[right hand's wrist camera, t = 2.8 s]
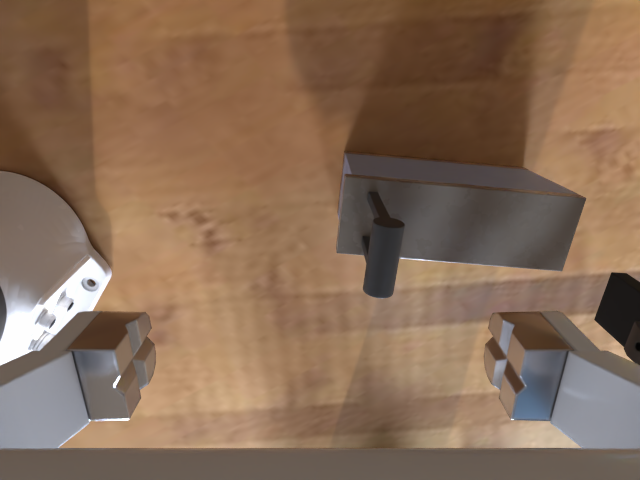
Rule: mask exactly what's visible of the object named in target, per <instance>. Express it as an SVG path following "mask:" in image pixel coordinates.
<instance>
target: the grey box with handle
mask: <svg viewBox="0 0 640 480" xmlns="http://www.w3.org/2000/svg"><path fill="white" fill-rule="evenodd" d="M585 201H586V198H585V197H583V196H581V195H579V194H569V193H558V192H547V191H535V190H524V189H513V188H501V187H490V186H479V185H468V184H456V183H445V182H434V181H422V180H411V179H400V178H388V177H377V176H366V175H355V174H344V182H343V191H342V200H341V208H340V217H339V226H338V235H337V243H336V252H337V253H341V254H353V255H364V256H365V260H366V271H365V278H364V285H363V290H364V292H365V293H366V294H368V295H370V296H372V297H376V298H388V297H390V296H392V294H393V291H394V285H395V279H396V273H397V268H398V262H399V258H403V259H415V260H428V261H440V262H453V263H465V264H478V265H490V266H502V267H515V268H527V269H540V270H552V271H562V270H563V267H564V264H565V261H566V258H567V255H568V252H569V249H570V246H571V243H572V240H573V237H574V234H575V231H576V228H577V225H578V222H579V219H580V216H581V213H582V210H583V207H584V204H585Z"/></svg>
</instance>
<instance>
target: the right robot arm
mask: <svg viewBox="0 0 640 480" xmlns="http://www.w3.org/2000/svg"><path fill="white" fill-rule="evenodd" d="M111 275H112V271H111V268H110V267H109V265H108V264H107V262H106V261H105V260H104V259H103V258H102V257H101V256H100V254H99V253H98V252H97V251H96V250H95V249H94V248H93V247H92V245H91V243H90V241H89V239H88V236H87V234H86V232H85V229H84V227H83V225H82V223H81V222H80V220H79V218H78V217H77V215H76V214H75V212H74V211H73V210H72V209H71V207H70V206H69V205H68V204H67V203H66V202H65V201H64V200H63V199H62V198H61V197H60V196H59V195H57V194H56V193H55V192H53V191H52V190H51V189H49V188H48V187H46V186H45V185H43V184H41V183H39V182H37V181H35V180H33V179H31V178H28V177H26V176H23V175H20V174H16V173H12V172H6V171H0V480H640V365H638V364H636V363H634V362H631V361H629V360H627V359H625V358H622V357H620V356H618V355H616V354H613V353H611V352H609V351H600V350H599V349H598V348H597V347H596V346H595V345H594V344H593V343H592V342H591V341H590V340H589V339H588V338H587V337H586V336H585V335H584V334H583V333H582V332H581V331H580V330H579V329H578V328H577V327H576V326H575V325H574V324H573V323H572V322H571V321H570V320H569V319H568V318H567V317H566V316H565V315H564V314H563V313H562V312H559V311H537V312H498V313H493V314H492V316H491V318H490V321H489V327H488V329H489V330H490V332H491V333H492V335H493V337H492V338H491V339H490V340H489V341H488V342H487V343H486V344H485V352H484V364H485V370H486V373H487V376H488V378H489V380H490V382H491V384H492V385H494V386H495V387H497V388H498V389H500V394H499V399H500V401H501V403H502V405H503V406H504V408H505V410H506V412H507V414H508V415H509V417H510V419H511V420H531V421H551V422H550V423H551V424H552V425H554V426H555V427H556V428H558V429H559V430H560V431H561V432H563V433H564V434H565V435H566V436H568V437H569V438H570V439H572V440H573V441H574V442H575V443H577V444H578V445H579V446H580V447H582V448H58V447H60V446H61V445H62V444H64V443H65V442H66V441H67V440H69V439H70V438H71V437H72V436H74V435H75V434H76V433H78V432H79V431H80V430H81V429H83V428H84V427H85V426H86V425H88V424H89V423H90V422H89V421H108V420H129V419H130V417H131V416H132V414H133V412H134V410H135V408H136V406H137V405H138V403H139V401H140V399H141V394H140V389H142V388H143V387H145V386H146V385H148V384H149V382H150V380H151V378H152V376H153V374H154V369H155V365H156V350H155V344H154V343H153V342H152V341H151V340H150V339H149V338H148V337H147V335H148V333H149V332H150V330H151V329H152V327H151V322H150V317H149V315H148V314H147V313H146V312H119V311H104V312H103V311H92V310H93V309H94V307H95V305H96V303H97V301H98V300H99V298H100V296H101V294H102V292H103V291H104V289H105V287H106V285H107V283H108V282H109V280H110V278H111ZM90 279H92V280H94V281H95V283H96V284H95V283H92V282H91V280H90Z"/></svg>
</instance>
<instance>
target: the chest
mask: <svg viewBox="0 0 640 480" xmlns="http://www.w3.org/2000/svg"><path fill="white" fill-rule="evenodd" d="M344 174H355V175H366V176H377V177H388V178H400V179H411V180H422V181H434V182H445V183H456V184H468V185H479V186H490V187H501V188H513V189H524V190H535V191H547V192H558V193H569V194H577V193H575V192H573V191H571V190H568V189H566V188H564V187H562V186H560V185H558V184H556V183H554V182H552V181H550V180H548V179H546V178H544V177H542V176H540V175H538V174H535V173H533V172H531V171H529V170H528V169H526V168H523V167H512V166H501V165H490V164H479V163H468V162H457V161H446V160H435V159H424V158H413V157H402V156H391V155H380V154H369V153H358V152H347V151H344V158H343V167H342V176H341V185H340V194H339V203H338V217H340V208H341V200H342V191H343V182H344Z"/></svg>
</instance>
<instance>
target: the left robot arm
mask: <svg viewBox="0 0 640 480" xmlns="http://www.w3.org/2000/svg"><path fill="white" fill-rule="evenodd" d="M594 320H595V321H596V322H597V323H598V324H600V325H601V326H602V327H603V328H604V329H605V330H606V331H607V332H608V333H609V334H610V335H612V336H613V337H614V338H615V339H616V340H617V341H618V342H619V343H620V344H621V345H622V346H624V350H625V352H626V354H627V356H628V357H629V358H630V359H631V360H632V361H633V362H634V363H636V364H638V365H640V282H639V281H637V280H636V279H634V278H633V277H631V276H630V275H628V274H627V273H611V275H610V278H609V281H608V284H607V286H606V289H605V292H604V295H603V297H602V300H601V303H600V306H599V308H598V311H597V314H596V317H595V319H594Z"/></svg>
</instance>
